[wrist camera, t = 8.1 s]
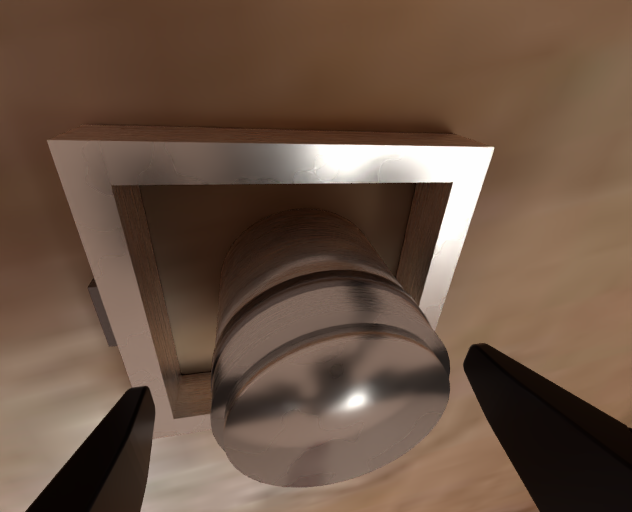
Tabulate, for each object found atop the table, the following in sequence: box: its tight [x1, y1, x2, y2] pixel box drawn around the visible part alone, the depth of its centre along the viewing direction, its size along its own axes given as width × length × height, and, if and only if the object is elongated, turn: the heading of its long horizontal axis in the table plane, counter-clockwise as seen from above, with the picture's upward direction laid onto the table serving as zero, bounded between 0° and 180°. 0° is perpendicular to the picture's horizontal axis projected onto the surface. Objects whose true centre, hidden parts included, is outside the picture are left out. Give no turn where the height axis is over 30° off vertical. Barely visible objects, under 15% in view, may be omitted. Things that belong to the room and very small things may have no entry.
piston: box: [210, 208, 450, 487], centre depth 10 cm, size 6×6×6 cm
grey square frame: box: [47, 124, 495, 439], centre depth 12 cm, size 12×11×2 cm
